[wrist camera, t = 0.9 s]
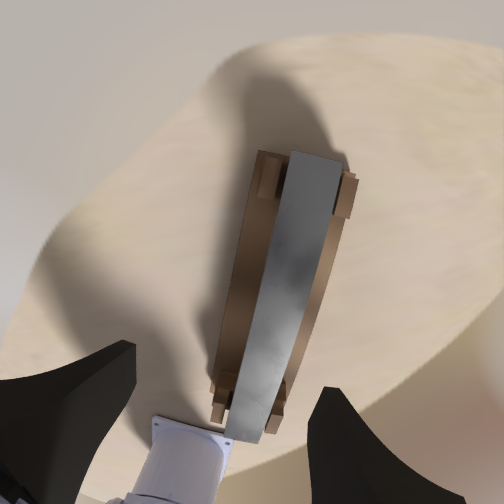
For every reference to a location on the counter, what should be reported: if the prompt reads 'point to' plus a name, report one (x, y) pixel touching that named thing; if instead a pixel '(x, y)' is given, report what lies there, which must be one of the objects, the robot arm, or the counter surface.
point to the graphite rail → (283, 289)
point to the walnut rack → (249, 277)
